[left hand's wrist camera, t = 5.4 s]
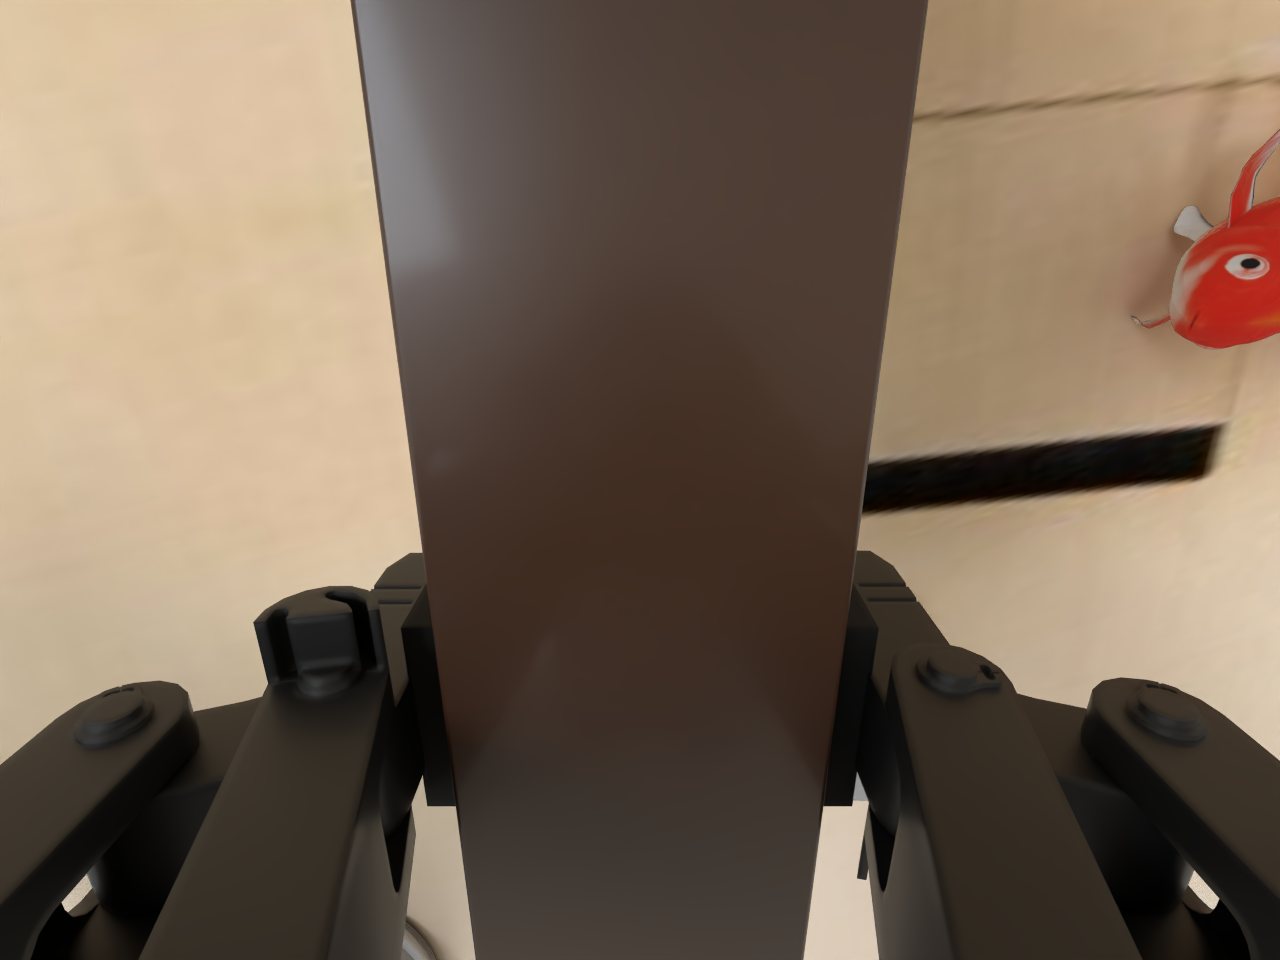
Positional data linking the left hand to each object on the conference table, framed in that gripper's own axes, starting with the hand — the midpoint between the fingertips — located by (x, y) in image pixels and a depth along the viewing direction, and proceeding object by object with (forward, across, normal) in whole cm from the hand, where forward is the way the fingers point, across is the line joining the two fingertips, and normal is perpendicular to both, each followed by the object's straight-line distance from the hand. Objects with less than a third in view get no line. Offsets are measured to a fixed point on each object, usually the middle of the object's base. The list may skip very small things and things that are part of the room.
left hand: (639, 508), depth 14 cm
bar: (0, 0, -9) cm, 9 cm away
